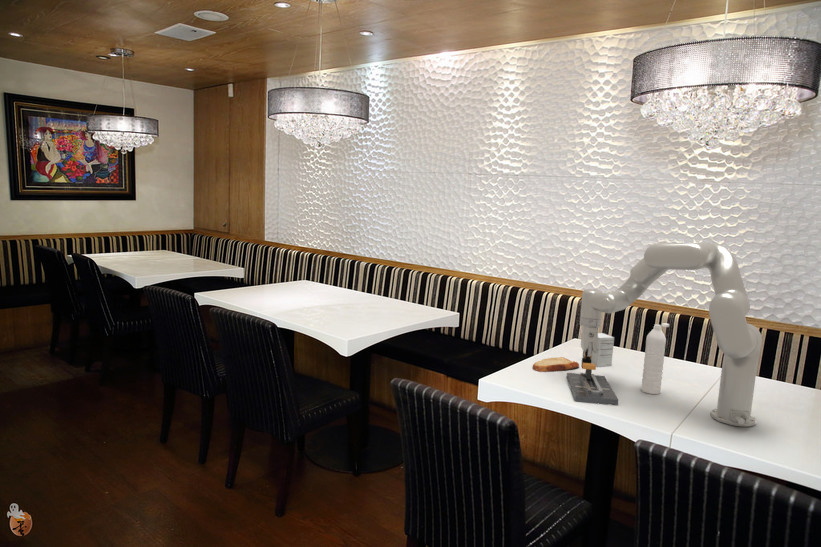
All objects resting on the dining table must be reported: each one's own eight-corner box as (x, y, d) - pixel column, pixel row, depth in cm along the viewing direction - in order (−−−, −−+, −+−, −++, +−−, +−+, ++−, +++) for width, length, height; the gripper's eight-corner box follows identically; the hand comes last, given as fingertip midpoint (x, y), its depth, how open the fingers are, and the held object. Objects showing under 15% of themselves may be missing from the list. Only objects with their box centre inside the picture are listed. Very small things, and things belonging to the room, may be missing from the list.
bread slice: (531, 371, 225) (531, 362, 224) (535, 359, 242) (536, 351, 241) (577, 378, 219) (578, 368, 219) (579, 365, 236) (580, 356, 236)
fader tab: (594, 380, 209) (596, 365, 208) (582, 379, 210) (583, 364, 209) (593, 378, 212) (594, 363, 211) (581, 377, 212) (582, 362, 212)
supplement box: (586, 362, 240) (588, 333, 239) (601, 361, 243) (603, 332, 241) (597, 367, 233) (599, 337, 232) (612, 366, 236) (614, 337, 234)
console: (617, 405, 190) (618, 396, 190) (575, 401, 192) (575, 392, 192) (604, 381, 216) (604, 372, 215) (566, 377, 218) (567, 369, 217)
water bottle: (651, 395, 202) (659, 327, 198) (637, 389, 207) (644, 323, 204) (668, 392, 206) (675, 325, 202) (653, 386, 211) (660, 321, 208)
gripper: (604, 327, 206) (599, 375, 208) (597, 318, 220) (592, 363, 223) (582, 325, 207) (578, 373, 209) (577, 316, 222) (573, 362, 224)
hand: (585, 368), depth 216 cm, fingers closed
